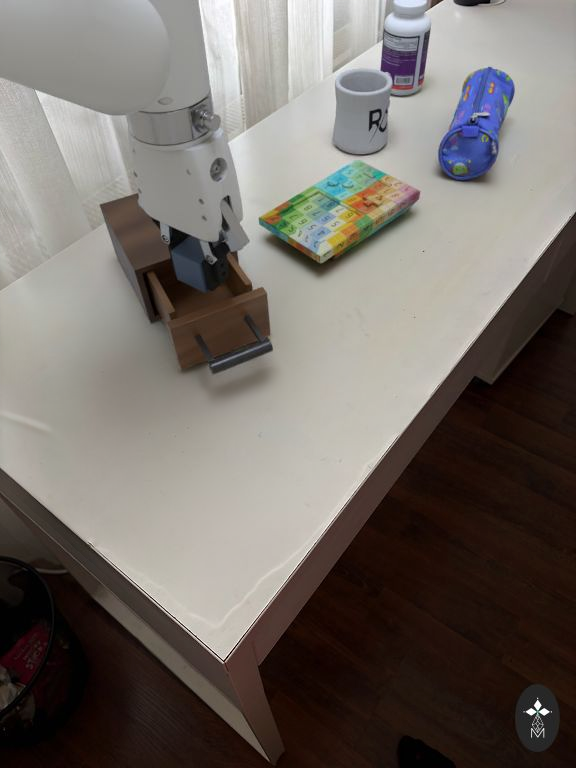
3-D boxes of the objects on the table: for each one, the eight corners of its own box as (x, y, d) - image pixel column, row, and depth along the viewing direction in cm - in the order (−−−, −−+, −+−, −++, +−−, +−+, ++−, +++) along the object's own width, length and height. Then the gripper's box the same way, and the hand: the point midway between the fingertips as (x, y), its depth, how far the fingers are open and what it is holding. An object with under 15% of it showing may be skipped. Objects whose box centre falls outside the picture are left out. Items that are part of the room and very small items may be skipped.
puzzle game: (421, 185, 82) (319, 250, 74) (416, 213, 86) (319, 279, 78) (359, 154, 88) (258, 212, 79) (357, 182, 91) (260, 240, 83)
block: (204, 293, 64) (199, 264, 60) (177, 279, 65) (170, 250, 62) (228, 272, 65) (223, 243, 62) (200, 259, 67) (194, 230, 64)
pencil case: (488, 190, 89) (504, 129, 81) (431, 180, 91) (441, 120, 83) (507, 119, 101) (523, 61, 94) (457, 112, 103) (468, 54, 96)
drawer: (292, 367, 67) (290, 325, 62) (199, 405, 64) (189, 365, 59) (226, 270, 78) (219, 227, 73) (144, 299, 75) (131, 256, 70)
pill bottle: (403, 73, 113) (412, -12, 102) (431, 89, 109) (445, 1, 98) (369, 85, 111) (376, -1, 100) (397, 102, 107) (407, 13, 95)
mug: (365, 162, 95) (370, 100, 87) (321, 144, 98) (322, 83, 91) (408, 131, 100) (416, 70, 92) (365, 115, 104) (369, 55, 96)
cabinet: (242, 290, 77) (235, 236, 70) (150, 323, 74) (134, 270, 67) (201, 229, 85) (191, 176, 78) (116, 257, 82) (99, 204, 75)
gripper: (273, 119, 50) (283, 284, 64) (131, 73, 56) (169, 232, 70) (217, 161, 46) (240, 325, 60) (71, 107, 52) (124, 267, 67)
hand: (201, 274), depth 65 cm, fingers closed on block, 4 cm apart
